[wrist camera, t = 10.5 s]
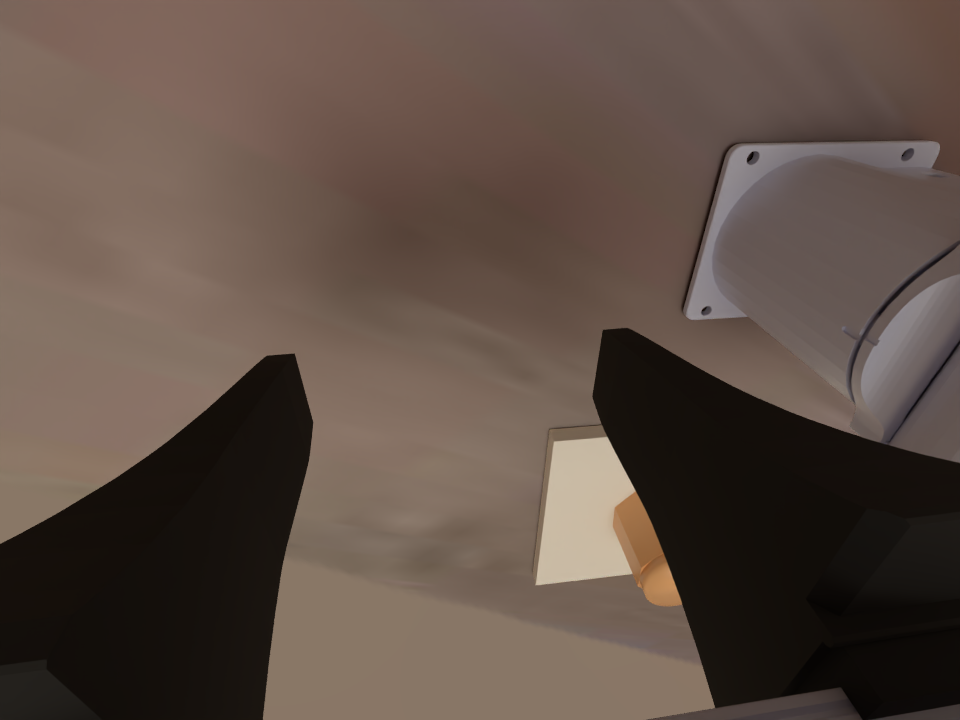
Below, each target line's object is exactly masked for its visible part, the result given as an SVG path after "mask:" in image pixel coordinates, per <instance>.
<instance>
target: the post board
mask: <svg viewBox="0 0 960 720" xmlns="http://www.w3.org/2000/svg"><path fill="white" fill-rule="evenodd" d="M634 492H635V489H634V487H633V485H632V483H631V481H630V479H629V478H628V476H627V474H626V472H625V470H624V468H623V466H622V464H621V462H620V461H619V459H618V457H617V455H616V453H615V451H614V449H613V447H612V445H611V443H610V441H609V439H608V437H607V435H606V433H605V431H604V429H603V426H602V425H597V426H585V427H573V428H561V429H549V438H548V446H547V455H546V463H545V472H544V480H543V489H542V497H541V506H540V514H539V523H538V531H537V540H536V549H535V557H534V566H533V576H534V580H535V584H536V585H542V584H551V583H559V582H568V581H576V580H585V579H593V578H601V577H610V576H618V575H627V574H633V573H632V571H631V569H630V566H629V564H628V561H627V559H626V557H625V554H624V552H623V550H622V547H621V545H620V542H619V540H618V538H617V535H616V533H615V530H614V528H613V519H614V510H615V507H616V506H617V505H618V504H620V503H621V502H622V501H624V500H625V499H626V498H628V497H629V496H630V495H631V494H633V493H634Z"/></svg>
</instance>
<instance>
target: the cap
mask: <svg viewBox="0 0 960 720" xmlns="http://www.w3.org/2000/svg"><path fill="white" fill-rule="evenodd" d="M613 528H614V530H615V533H616V535H617V538H618V540H619V542H620V545H621V547H622V550H623V552H624V554H625V557H626V559H627V561H628V564H629V566H630V569H631V571H632V573H633V576H634V578H635V580H636V583H637V585H638V587H641V588H642V589H643V591H644V593H645V596H646V598H647V599H648V601H650V602H651V603H653V604H656V605H660V606H676V605H682V602H681V599H680V596H679V594H678V591H677V588H676V585H675V583H674V580H673V577H672V574H671V572H670V569H669V566H668V564H667V561H666V558H665V556H664V553H663V551H662V548H661V546H660V543H659V541H658V538H657V536H656V533H655V531H654V528H653V525H652V523H651V521H650V519H649V517H648V515H647V512H646V510H645V508H644V506H643V504H642V502H641V500H640V498H639V497H638V495H637V493H636V491H635V492H634V493H633V494H631V495H630V496H629V497H628V498H626V499H625V500H624V501H622V502H621V503H620V504H618V505H617V506H616V507H615V510H614V519H613Z"/></svg>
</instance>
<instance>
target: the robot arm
mask: <svg viewBox="0 0 960 720" xmlns="http://www.w3.org/2000/svg"><path fill="white" fill-rule="evenodd" d="M904 151H906V153H905V154H904V156H903V157H902V154H903V153H904ZM939 151H940V144H939V143H938V142H935V141H930V140H903V141H846V142H789V143H740V144H736V145H734V146H733V147H731V148H730V149H729V151H728V152H727V154H726V156H725V160H724V163H723V167H722V171H721V174H720V178H719V182H718V185H717V189H716V192H715V196H714V200H713V203H712V207H711V211H710V214H709V218H708V222H707V225H706V229H705V232H704V236H703V240H702V243H701V247H700V251H699V254H698V258H697V262H696V265H695V269H694V273H693V276H692V280H691V283H690V287H689V291H688V294H687V298H686V302H685V305H684V310H683V313H684V315H685V316H686V317H687V318H688V319H690V320H703V319H720V318H737V317H749V318H750V319H752V320H753V321H754V322H755V323H756V324H758V325H759V326H760V327H761V328H762V329H764V330H765V331H766V332H767V333H768V334H770V335H771V336H772V337H773V338H775V339H776V340H777V341H778V342H779V343H781V344H782V345H783V346H784V347H785V348H787V349H788V350H789V351H790V352H791V353H793V354H794V355H795V356H796V357H798V358H799V359H800V360H801V361H802V362H804V363H805V364H806V365H807V366H808V367H810V368H811V369H812V370H813V371H814V372H816V373H817V374H818V375H819V376H821V377H822V378H823V379H824V380H825V381H827V382H828V383H829V384H830V385H831V386H833V387H834V388H835V389H836V390H837V391H839V392H840V393H841V394H842V395H844V396H845V397H846V398H847V399H848V400H850V401H851V402H852V403H853V404H854V405H856V411H855V414H854V417H853V419H852V421H851V423H850V427H851V428H852V429H853V430H854V431H855V432H856V433H857V434H859V435H860V436H861V437H860V436H857V435H853V434H850V433H847V432H844V431H841V430H838V429H835V428H832V427H830V426H827V425H824V424H821V423H818V422H815V421H812V420H810V419H807V418H804V417H802V416H799V415H796V414H794V413H791V412H789V411H786V410H784V409H782V408H779V407H777V406H775V405H772V404H770V403H768V402H765V401H763V400H761V399H758V398H756V397H754V396H752V395H750V394H748V393H745V392H743V391H741V390H739V389H737V388H735V387H733V386H731V385H729V384H727V383H726V382H724V381H722V380H720V379H718V378H716V377H714V376H712V375H710V374H708V373H707V372H705V371H703V370H701V369H699V368H697V367H696V366H694V365H692V364H690V363H689V362H687V361H685V360H683V359H682V358H680V357H678V356H677V355H675V354H673V353H671V352H670V351H668V350H666V349H665V348H663V347H661V346H660V345H658V344H656V343H654V342H653V341H651V340H649V339H648V338H646V337H644V336H642V335H640V334H639V333H637V332H635V331H633V330H631V329H628V328H621V329H608V330H603V333H602V339H601V346H600V352H599V358H598V365H597V371H596V377H595V384H594V390H593V396H592V397H593V400H594V403H595V406H596V409H597V412H598V415H599V418H600V421H601V423H602V426H603V429H604V431H605V433H606V435H607V437H608V439H609V441H610V443H611V445H612V447H613V449H614V451H615V453H616V455H617V457H618V459H619V461H620V462H621V464H622V466H623V468H624V470H625V472H626V474H627V476H628V478H629V479H630V481H631V483H632V485H633V487H634V489H635V491H636V493H637V495H638V497H639V498H640V500H641V502H642V504H643V506H644V508H645V510H646V512H647V515H648V517H649V519H650V521H651V523H652V525H653V528H654V531H655V533H656V536H657V538H658V541H659V543H660V546H661V548H662V551H663V553H664V556H665V558H666V561H667V564H668V566H669V569H670V572H671V574H672V577H673V580H674V583H675V585H676V588H677V591H678V594H679V596H680V599H681V602H682V605H683V608H684V611H685V614H686V617H687V620H688V623H689V626H690V629H691V631H692V634H693V637H694V640H695V643H696V646H697V649H698V652H699V656H700V659H701V662H702V666H703V669H704V672H705V675H706V679H707V682H708V685H709V689H710V692H711V695H712V698H713V702H714V705H715V708H714V709H708V710H702V711H696V712H690V713H684V714H678V715H672V716H666V717H660V718H654V719H648V720H960V176H959V175H955V174H952V173H948V172H944V171H940V170H936V169H932V166H933V164H934V162H935V160H936V158H937V156H938V154H939ZM751 152H754V155H753V158H752V159H751V160H750V161H749V162H747V157H748V155H749V154H750V153H751ZM706 306H707V308H706V310H704V311H703V312H701V311H702V309H703V308H704V307H706ZM312 429H313V420H312V416H311V413H310V409H309V405H308V401H307V398H306V394H305V390H304V387H303V383H302V379H301V375H300V372H299V368H298V364H297V361H296V357H295V354H283V355H270V356H266V357H265V358H263V359H262V360H261V361H260V362H259V363H257V364H256V365H255V366H254V367H253V368H252V369H251V370H250V371H249V372H247V373H246V374H245V375H244V376H243V377H242V378H241V379H240V380H239V381H238V382H237V383H236V384H235V385H233V386H232V387H231V388H230V389H229V390H228V391H227V392H226V393H225V394H223V395H222V396H221V397H220V398H219V399H218V400H217V401H216V402H215V403H213V404H212V405H211V406H210V407H209V408H208V409H207V410H206V411H204V412H203V413H202V414H201V415H199V416H198V417H197V418H196V419H195V420H193V421H192V422H191V423H190V424H188V425H187V426H186V427H185V428H184V429H182V430H181V431H180V432H179V433H177V434H176V435H175V436H174V437H173V438H171V439H170V440H169V441H168V442H166V443H165V444H164V445H162V446H161V447H160V448H158V449H157V450H156V451H154V452H153V453H151V454H150V455H149V456H147V457H146V458H144V459H143V460H142V461H140V462H139V463H137V464H136V465H134V466H133V467H131V468H130V469H128V470H127V471H126V472H124V473H123V474H121V475H120V476H118V477H117V478H115V479H114V480H112V481H110V482H109V483H107V484H105V485H104V486H102V487H100V488H99V489H97V490H96V491H94V492H92V493H91V494H89V495H87V496H86V497H84V498H82V499H81V500H79V501H77V502H76V503H74V504H72V505H71V506H69V507H67V508H66V509H64V510H62V511H61V512H59V513H57V514H56V515H54V516H52V517H50V518H48V519H47V520H45V521H43V522H41V523H39V524H37V525H36V526H34V527H32V528H30V529H28V530H26V531H24V532H23V533H21V534H19V535H17V536H15V537H13V538H11V539H9V540H7V541H5V542H3V543H2V544H0V720H263V711H264V701H265V693H266V682H267V674H268V665H269V657H270V648H271V641H272V633H273V625H274V618H275V610H276V604H277V597H278V591H279V590H278V589H279V583H280V577H281V570H282V565H283V561H284V556H285V551H286V547H287V543H288V539H289V535H290V532H291V528H292V524H293V520H294V517H295V513H296V509H297V505H298V501H299V498H300V494H301V490H302V486H303V482H304V478H305V474H306V470H307V466H308V462H309V456H310V448H311V439H312Z"/></svg>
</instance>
